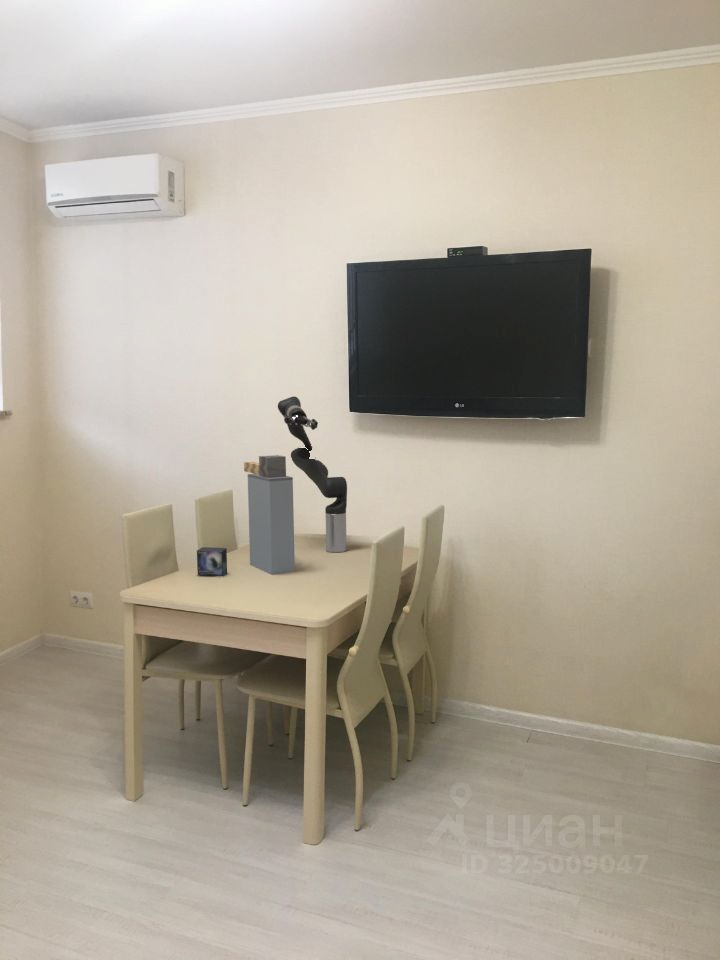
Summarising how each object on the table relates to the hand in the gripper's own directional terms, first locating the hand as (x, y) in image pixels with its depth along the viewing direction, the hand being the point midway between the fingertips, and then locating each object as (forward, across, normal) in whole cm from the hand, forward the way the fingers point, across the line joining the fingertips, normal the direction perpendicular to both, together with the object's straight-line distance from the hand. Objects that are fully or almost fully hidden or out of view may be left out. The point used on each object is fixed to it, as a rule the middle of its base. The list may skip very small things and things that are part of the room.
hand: (304, 426), depth 348 cm
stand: (+31, +8, -53) cm, 62 cm away
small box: (+35, +33, -57) cm, 74 cm away
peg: (+14, +17, -19) cm, 29 cm away
